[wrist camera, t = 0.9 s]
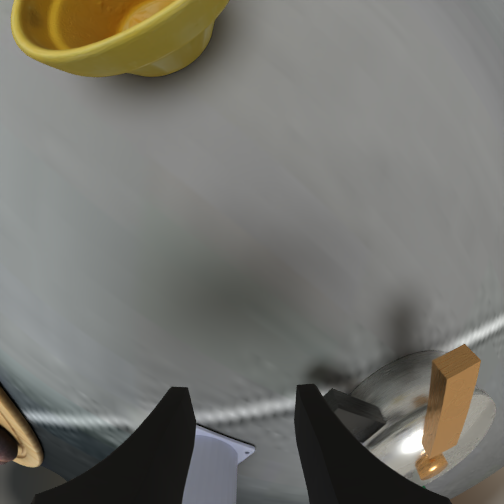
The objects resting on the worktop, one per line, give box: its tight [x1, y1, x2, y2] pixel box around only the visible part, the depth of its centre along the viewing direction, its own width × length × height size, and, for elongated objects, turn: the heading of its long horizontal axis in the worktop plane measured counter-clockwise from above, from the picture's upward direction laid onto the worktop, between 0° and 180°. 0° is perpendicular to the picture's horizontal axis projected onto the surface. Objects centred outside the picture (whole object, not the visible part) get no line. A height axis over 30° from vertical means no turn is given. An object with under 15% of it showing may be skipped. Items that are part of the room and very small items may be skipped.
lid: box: [366, 344, 496, 487], centre depth 16 cm, size 20×15×3 cm
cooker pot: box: [323, 351, 479, 447], centre depth 21 cm, size 22×14×6 cm, turn 57°
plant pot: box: [11, 0, 229, 77], centre depth 10 cm, size 10×10×10 cm
